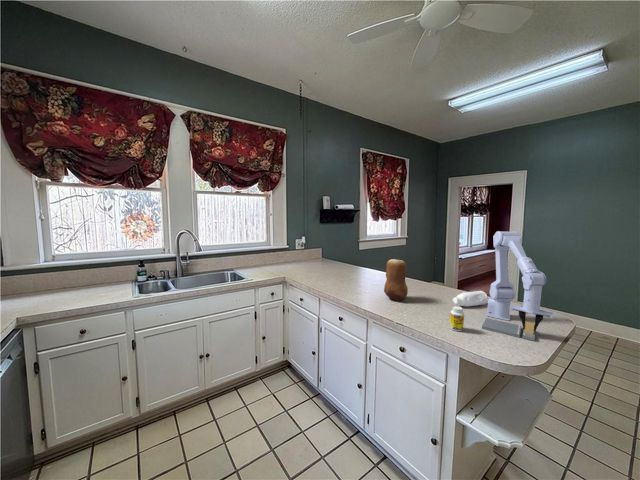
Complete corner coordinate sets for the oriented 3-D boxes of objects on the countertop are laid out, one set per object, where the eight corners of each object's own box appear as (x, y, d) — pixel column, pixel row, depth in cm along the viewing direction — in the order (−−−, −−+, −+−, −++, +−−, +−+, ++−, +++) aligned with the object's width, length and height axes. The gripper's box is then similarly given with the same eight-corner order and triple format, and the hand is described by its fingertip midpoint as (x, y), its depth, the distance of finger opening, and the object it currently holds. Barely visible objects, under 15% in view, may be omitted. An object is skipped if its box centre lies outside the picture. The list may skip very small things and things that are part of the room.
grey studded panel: (481, 328, 122) (482, 325, 122) (486, 320, 131) (486, 317, 131) (519, 337, 113) (519, 334, 113) (521, 328, 122) (521, 325, 122)
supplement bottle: (452, 331, 120) (453, 309, 118) (448, 326, 125) (449, 305, 124) (465, 332, 119) (466, 310, 118) (460, 326, 124) (461, 305, 123)
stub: (522, 338, 113) (523, 324, 112) (523, 328, 122) (524, 315, 121) (534, 340, 110) (535, 326, 109) (534, 330, 119) (536, 317, 119)
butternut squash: (404, 296, 169) (405, 257, 166) (409, 303, 155) (411, 261, 153) (382, 295, 170) (383, 257, 167) (385, 302, 157) (386, 261, 154)
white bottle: (449, 305, 153) (449, 291, 152) (475, 302, 158) (476, 289, 157) (459, 310, 145) (460, 296, 144) (487, 306, 150) (488, 293, 149)
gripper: (510, 298, 116) (508, 328, 117) (554, 306, 107) (551, 338, 108) (512, 294, 121) (509, 322, 123) (554, 301, 112) (551, 331, 113)
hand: (529, 329), depth 116 cm, fingers closed on stub, 3 cm apart
